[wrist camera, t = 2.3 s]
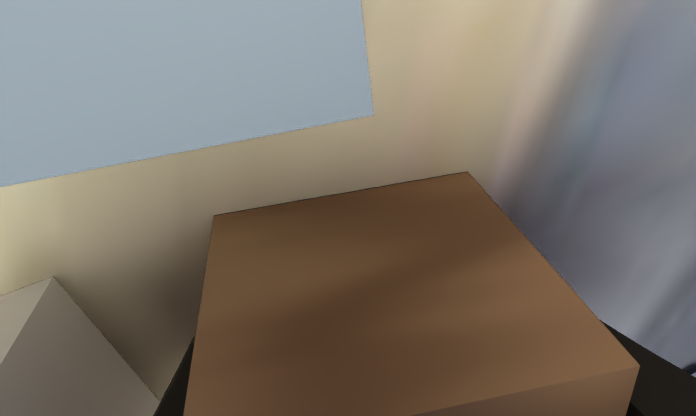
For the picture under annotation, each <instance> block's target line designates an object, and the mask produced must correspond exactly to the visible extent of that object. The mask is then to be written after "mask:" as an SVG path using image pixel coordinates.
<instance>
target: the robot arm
mask: <svg viewBox="0 0 696 416" xmlns="http://www.w3.org/2000/svg"><path fill="white" fill-rule="evenodd" d="M600 321H601V320H600ZM601 322H602V321H601ZM602 323H603V324H604V325H605V327H606V328H607V329H608V330H609V331H610V332H611V333H612V334H613V336H614V337H615V338H616V339H617V340H618V341H619V342H620V343H621V345H622V346H623V347H624V348H625V349H626V350H627V351H628V352H629V354H630V355H631V356H632V357H633V358H634V359H635V360H636V361H637V363H638V364H639V365H640V368H639V371H638V375H637V378H636V382H635V385H634V389H633V392H632V395H631V399H630V402H629V406H628V409H627V413H626V416H696V372H695V373H693V374H689V373H687V372H685V371H684V370H682V369H680V368H678V367H677V366H675V365H673V364H671V363H670V362H668V361H666V360H664V359H663V358H661V357H659V356H657V355H656V354H654V353H652V352H651V351H649V350H647V349H646V348H644V347H642V346H641V345H639V344H637V343H636V342H634V341H633V340H631V339H629V338H628V337H626V336H624V335H623V334H621V333H620V332H618V331H616V330H615V329H613V328H612V327H610V326H609V325H607V324H605V323H604V322H602ZM195 336H196V335H195ZM194 343H195V337H194V338H193V339H192V341H191V343H190V345H189V347H188V349H187V351H186V353H185V355H184V357H183V359H182V361H181V363H180V365H179V367H178V369H177V371H176V373H175V375H174V377H173V379H172V381H171V383H170V385H169V387H168V389H167V390H166V392H165V394H164V396H163V398H162V400H161V402H160V404H159V405H158V407H157V409H156V411H155V413H154V414H153V416H183V414H184V408H185V401H186V395H187V388H188V382H189V375H190V369H191V362H192V356H193V349H194Z"/></svg>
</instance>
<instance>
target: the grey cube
mask: <svg viewBox="0 0 696 416" xmlns="http://www.w3.org/2000/svg"><path fill="white" fill-rule="evenodd" d="M159 404H160V401H159V400H158V399H157V398H156V397H155V395H154V394H153V393H152V392H151V391H150V389H149V388H148V387H147V386H146V385H145V384H144V382H143V381H142V380H141V379H140V378H139V377H138V375H137V374H136V373H135V372H134V371H133V369H132V368H131V367H130V366H129V365H128V364H127V362H126V361H125V360H124V359H123V358H122V357H121V355H120V354H119V353H118V352H117V351H116V349H115V348H114V347H113V346H112V345H111V344H110V342H109V341H108V340H107V339H106V338H105V337H104V335H103V334H102V333H101V332H100V331H99V330H98V328H97V327H96V326H95V325H94V324H93V322H92V321H91V320H90V319H89V318H88V317H87V315H86V314H85V313H84V312H83V311H82V310H81V308H80V307H79V306H78V305H77V304H76V302H75V301H74V300H73V299H72V298H71V297H70V295H69V294H68V293H67V292H66V291H65V290H64V288H63V287H62V286H61V285H60V284H59V282H58V281H57V280H56V279H55V278H54V277H50V278H47V279H45V280H42V281H39V282H37V283H34V284H31V285H29V286H26V287H23V288H20V289H18V290H15V291H12V292H10V293H7V294H4V295H2V296H0V416H153V414H154V413H155V411H156V409H157V407H158V405H159Z"/></svg>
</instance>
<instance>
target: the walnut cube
mask: <svg viewBox="0 0 696 416" xmlns="http://www.w3.org/2000/svg"><path fill="white" fill-rule="evenodd" d="M639 368H640V365H639V364H638V363H637V361H636V360H635V359H634V358H633V357H632V356H631V355H630V354H629V352H628V351H627V350H626V349H625V348H624V347H623V346H622V345H621V343H620V342H619V341H618V340H617V339H616V338H615V337H614V336H613V334H612V333H611V332H610V331H609V330H608V329H607V328H606V327H605V325H604V324H603V323H602V322H601V321H600V320H599V319H598V318H597V316H596V315H595V314H594V313H593V312H592V311H591V310H590V309H589V308H588V306H587V305H586V304H585V303H584V302H583V301H582V300H581V299H580V297H579V296H578V295H577V294H576V293H575V292H574V291H573V290H572V288H571V287H570V286H569V285H568V284H567V283H566V282H565V281H564V279H563V278H562V277H561V276H560V275H559V274H558V273H557V272H556V270H555V269H554V268H553V267H552V266H551V265H550V264H549V263H548V261H547V260H546V259H545V258H544V257H543V256H542V255H541V254H540V252H539V251H538V250H537V249H536V248H535V247H534V246H533V245H532V243H531V242H530V241H529V240H528V239H527V238H526V237H525V236H524V234H523V233H522V232H521V231H520V230H519V229H518V228H517V227H516V225H515V224H514V223H513V222H512V221H511V220H510V219H509V218H508V217H507V215H506V214H505V213H504V212H503V211H502V210H501V209H500V208H499V206H498V205H497V204H496V203H495V202H494V201H493V200H492V199H491V197H490V196H489V195H488V194H487V193H486V192H485V191H484V190H483V188H482V187H481V186H480V185H479V184H478V183H477V182H476V181H475V179H474V178H473V177H472V176H471V175H470V174H469V173H468V172H464V173H458V174H452V175H447V176H441V177H435V178H429V179H424V180H418V181H412V182H406V183H400V184H395V185H389V186H383V187H377V188H372V189H366V190H360V191H354V192H349V193H343V194H337V195H331V196H325V197H320V198H314V199H308V200H302V201H297V202H291V203H285V204H279V205H274V206H268V207H262V208H256V209H251V210H245V211H239V212H233V213H227V214H222V215H216V216H214V219H213V226H212V232H211V239H210V245H209V252H208V258H207V265H206V271H205V278H204V284H203V291H202V297H201V304H200V310H199V317H198V323H197V330H196V336H195V343H194V349H193V356H192V362H191V369H190V375H189V382H188V388H187V395H186V401H185V408H184V414H183V416H626V413H627V409H628V406H629V402H630V399H631V395H632V392H633V389H634V385H635V382H636V378H637V375H638V371H639Z"/></svg>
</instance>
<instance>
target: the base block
mask: <svg viewBox="0 0 696 416" xmlns="http://www.w3.org/2000/svg"><path fill="white" fill-rule="evenodd" d="M372 115H374V110H373V102H372V93H371V85H370V76H369V67H368V59H367V50H366V41H365V33H364V24H363V16H362V7H361V0H0V187H4V186H9V185H14V184H19V183H24V182H30V181H35V180H40V179H45V178H50V177H56V176H61V175H66V174H71V173H76V172H81V171H87V170H92V169H97V168H102V167H107V166H113V165H118V164H123V163H128V162H133V161H139V160H144V159H149V158H154V157H159V156H164V155H170V154H175V153H180V152H185V151H190V150H196V149H201V148H206V147H211V146H216V145H222V144H227V143H232V142H237V141H242V140H248V139H253V138H258V137H263V136H268V135H273V134H279V133H284V132H289V131H294V130H299V129H305V128H310V127H315V126H320V125H325V124H331V123H336V122H341V121H346V120H351V119H356V118H362V117H367V116H372Z"/></svg>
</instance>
